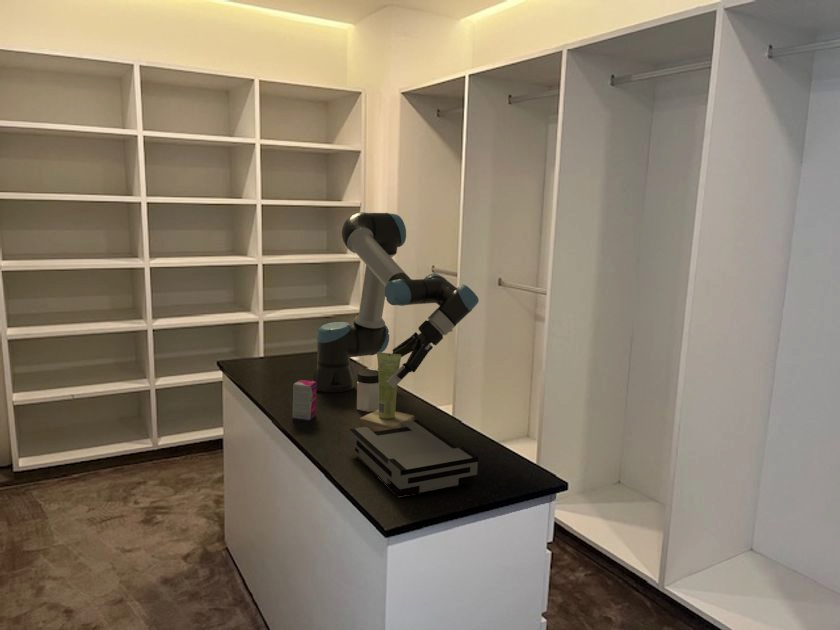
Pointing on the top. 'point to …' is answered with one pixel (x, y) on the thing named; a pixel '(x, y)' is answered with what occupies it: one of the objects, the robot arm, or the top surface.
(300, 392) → the supplement box
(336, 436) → the top surface
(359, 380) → the jar
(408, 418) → the oak block
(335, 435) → the top surface
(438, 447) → the game console
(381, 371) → the tube
